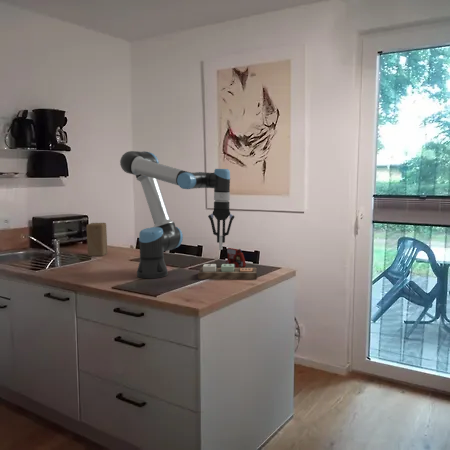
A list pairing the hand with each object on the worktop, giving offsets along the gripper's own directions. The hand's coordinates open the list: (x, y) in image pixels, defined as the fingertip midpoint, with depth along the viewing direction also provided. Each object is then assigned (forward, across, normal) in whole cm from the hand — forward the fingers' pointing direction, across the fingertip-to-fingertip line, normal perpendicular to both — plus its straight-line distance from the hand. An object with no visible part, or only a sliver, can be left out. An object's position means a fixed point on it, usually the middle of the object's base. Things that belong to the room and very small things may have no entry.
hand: (220, 249), depth 219 cm
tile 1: (+11, -5, -1) cm, 13 cm away
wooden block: (+18, -81, +59) cm, 102 cm away
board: (+13, +4, -1) cm, 14 cm away
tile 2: (+11, +4, -1) cm, 12 cm away
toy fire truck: (+14, +7, +19) cm, 25 cm away
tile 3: (+13, +13, -1) cm, 18 cm away
